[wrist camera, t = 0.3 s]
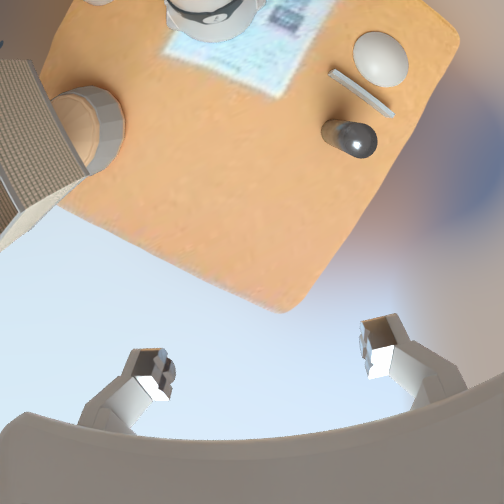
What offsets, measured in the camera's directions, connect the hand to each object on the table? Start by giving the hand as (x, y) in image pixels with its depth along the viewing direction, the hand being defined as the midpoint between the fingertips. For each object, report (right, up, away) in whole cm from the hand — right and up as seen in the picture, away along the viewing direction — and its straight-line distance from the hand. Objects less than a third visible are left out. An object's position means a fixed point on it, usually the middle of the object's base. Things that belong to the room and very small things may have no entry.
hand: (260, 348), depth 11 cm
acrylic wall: (+20, +34, +36) cm, 53 cm away
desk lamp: (-34, +29, +39) cm, 59 cm away
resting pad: (+25, +41, +32) cm, 57 cm away
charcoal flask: (+15, +26, +39) cm, 50 cm away
